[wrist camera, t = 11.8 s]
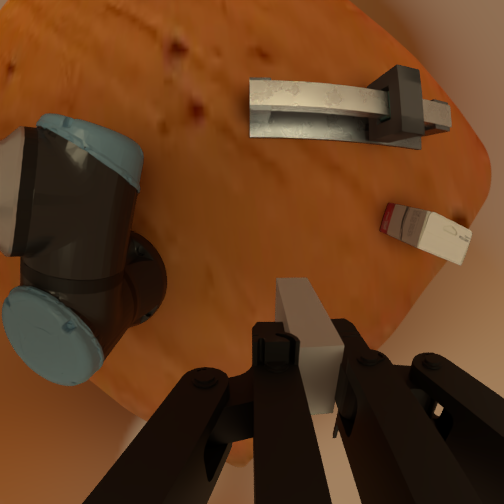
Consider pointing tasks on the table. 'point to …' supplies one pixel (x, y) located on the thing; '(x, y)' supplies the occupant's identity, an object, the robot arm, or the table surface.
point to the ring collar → (399, 106)
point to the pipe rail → (322, 126)
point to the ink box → (427, 231)
